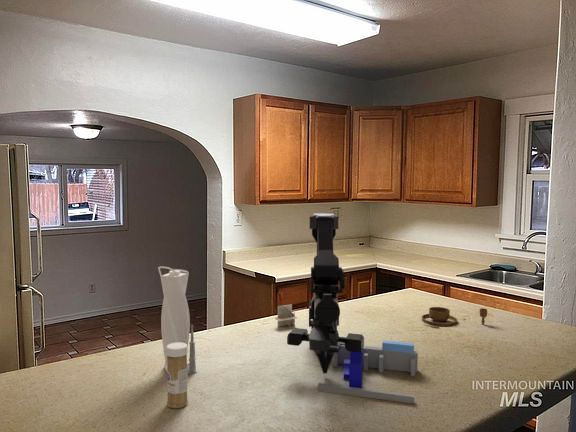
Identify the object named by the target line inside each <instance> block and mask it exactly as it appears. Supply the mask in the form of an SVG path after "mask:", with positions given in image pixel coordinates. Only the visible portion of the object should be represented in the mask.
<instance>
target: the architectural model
mask: <svg viewBox="0 0 576 432" xmlns="http://www.w3.org/2000/svg"><path fill="white" fill-rule="evenodd" d="M296 319H297V317H296V312H295V311H294V312H293V304H292V303H291V304H290V303H289V304H285V305H278V306H277V317H274V320H277V327H278V328H279V327H284V326H285V327H286V326H288V327H291V325H292V326H295V325H296Z"/></svg>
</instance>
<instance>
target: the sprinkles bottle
mask: <svg viewBox="0 0 576 432" xmlns="http://www.w3.org/2000/svg"><path fill="white" fill-rule="evenodd" d="M188 348H189V347H188ZM188 348H187V344H185V343H181V342H177V343H171V344H169V345H167V347H166V355H167V370H168V371H167V373H166V375H167V377H166V378H167V379H166V386H167V387H166V390H167V391H166V392H167V403H166V405H167V407H168V408H170V409H181V408H183V407H186V406H187V405H188V403H189V401H188V375H187V364H188V353H189V350H188Z"/></svg>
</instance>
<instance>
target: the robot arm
mask: <svg viewBox="0 0 576 432" xmlns="http://www.w3.org/2000/svg"><path fill="white" fill-rule="evenodd" d="M339 224H340V223H339V216H335V214H334V213H325V212H324V213H323V212H320V213H318V212H317V213H315V212H313V216H309V229H310V230H311V235H312V237H313V239H314V240H315V242H316V255H315V256H314V257H313V266H310V293H311V294H314V295H313V296H312V298H311V305H310V306H308V328H309V327H310V329H311V330H310V332H309V331H308V329H307V328H298V327H294V328H292V330H291V331H290V332H289V333H288V334H287V336H286V337H287V338H286V345H288V346H295V347H296V346H300V345H301V344H302V343H303V342H308V343H309V344H308V345H309V346H308V349H309V351H313V352H314V353H315V355H316V357H317V359H318V362H319V365H320V367H321V370H322V373H323V374H327V373H328V372H329V371H328V370H329V368H330V365H331V362H332V361H333V360H332V359H333V355H334V353H337V352H338V351H339V350H340V348H341V346H342V345H345V348H346V350H347V351H351V352H361V351H362V349H363V346H365V336H364V335H363V334H361V333H351V332H350V333H349V332H348V334H347V335H346V336H339V331H338V326H340V315H341V308H340V304H339V302H338V294H343V290H344V289H345V288H346V287H345V285H346V284H345V271H344V270H343V267H342V266H340V261H339V257H338V256H337V255H336V254H335V253H334V238H335V237H336V234H337V232H336V231H337V230H339Z"/></svg>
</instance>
